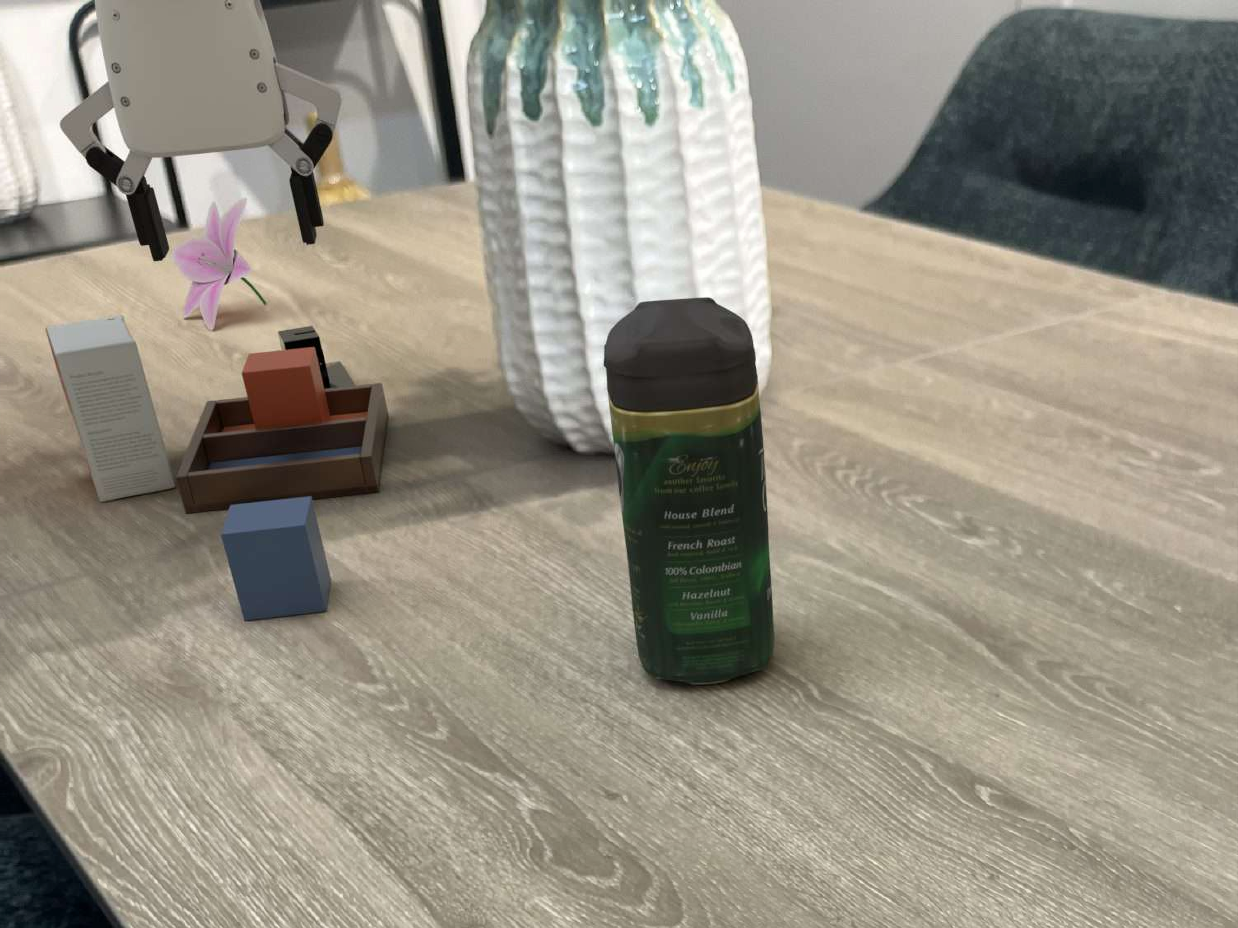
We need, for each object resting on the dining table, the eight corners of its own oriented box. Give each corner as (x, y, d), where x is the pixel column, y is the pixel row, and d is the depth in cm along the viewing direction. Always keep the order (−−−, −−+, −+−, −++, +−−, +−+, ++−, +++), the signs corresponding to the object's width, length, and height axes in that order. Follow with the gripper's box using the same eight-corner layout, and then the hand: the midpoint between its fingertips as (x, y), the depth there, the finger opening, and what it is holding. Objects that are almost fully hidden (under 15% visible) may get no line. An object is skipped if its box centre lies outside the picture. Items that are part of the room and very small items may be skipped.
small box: (88, 471, 130) (43, 325, 123) (163, 457, 131) (122, 312, 125) (99, 503, 124) (51, 352, 118) (177, 488, 126) (135, 338, 119)
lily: (192, 311, 170) (128, 232, 162) (291, 248, 169) (233, 165, 161) (216, 379, 164) (151, 300, 156) (320, 314, 163) (260, 231, 154)
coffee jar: (783, 683, 94) (759, 329, 83) (640, 696, 94) (595, 343, 82) (771, 612, 102) (747, 278, 90) (638, 624, 101) (597, 291, 90)
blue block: (244, 621, 105) (220, 534, 102) (252, 589, 109) (230, 504, 106) (326, 611, 106) (305, 524, 102) (331, 580, 110) (311, 495, 106)
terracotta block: (259, 447, 129) (241, 372, 126) (266, 426, 133) (248, 353, 130) (326, 440, 130) (309, 365, 126) (331, 419, 134) (314, 346, 130)
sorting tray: (185, 513, 121) (175, 477, 120) (215, 434, 135) (206, 400, 134) (378, 492, 122) (371, 455, 121) (388, 416, 136) (382, 382, 135)
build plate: (366, 405, 139) (354, 345, 136) (276, 421, 137) (261, 361, 134) (340, 364, 148) (328, 308, 145) (256, 378, 147) (241, 322, 144)
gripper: (310, -80, 106) (370, 221, 116) (23, -54, 104) (110, 249, 115) (303, -70, 100) (367, 246, 110) (-1, -42, 98) (93, 276, 109)
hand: (236, 247), depth 112 cm, fingers open, 9 cm apart
